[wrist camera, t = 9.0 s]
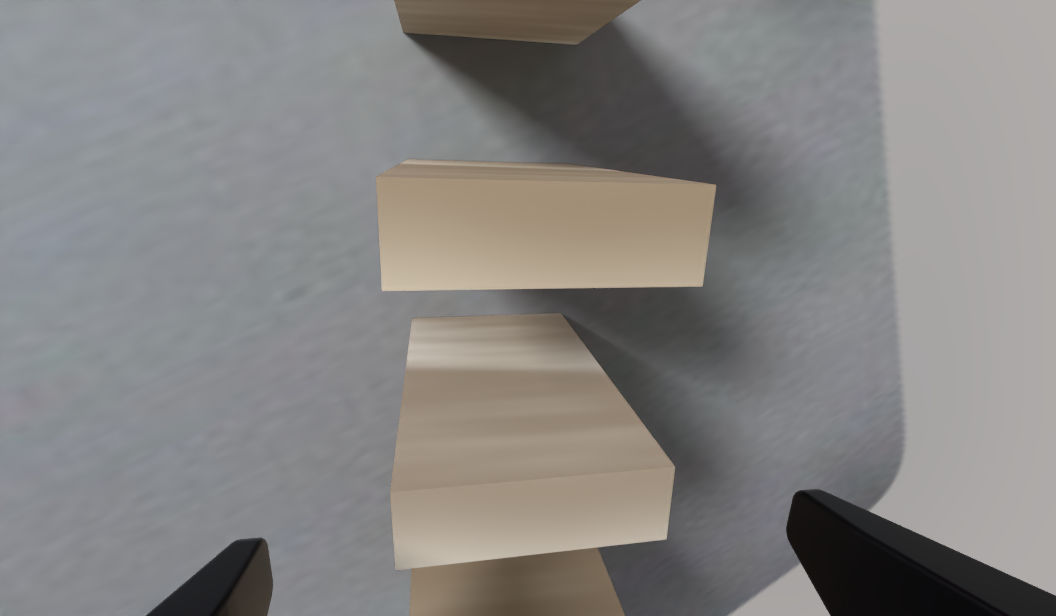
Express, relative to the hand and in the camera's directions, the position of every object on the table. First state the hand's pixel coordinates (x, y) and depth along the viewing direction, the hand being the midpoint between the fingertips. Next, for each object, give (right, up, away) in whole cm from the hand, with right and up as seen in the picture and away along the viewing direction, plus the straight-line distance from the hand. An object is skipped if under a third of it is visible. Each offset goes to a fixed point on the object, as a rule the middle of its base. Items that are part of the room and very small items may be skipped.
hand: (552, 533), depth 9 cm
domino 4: (-2, +7, +7) cm, 11 cm away
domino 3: (-2, +3, +9) cm, 10 cm away
